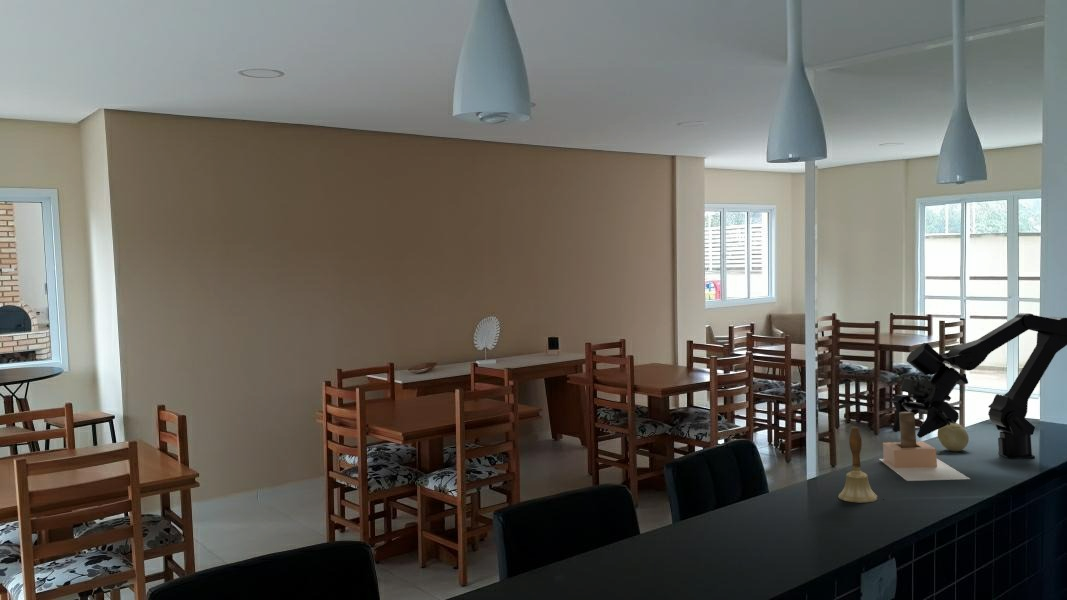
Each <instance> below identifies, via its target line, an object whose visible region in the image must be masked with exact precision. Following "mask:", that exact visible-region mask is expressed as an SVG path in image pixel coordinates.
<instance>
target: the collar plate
mask: <svg viewBox="0 0 1067 600" xmlns="http://www.w3.org/2000/svg"><path fill="white" fill-rule="evenodd" d="M916 446H917V447H915V448H901V441H897V442H896V441H893V442H889V441H888V442H882V450H883V451H882V453H883V458H878V460H879V461H881V462H882V463H883V464H884V465H886V466H887V467H888V468H890V469H891V470H892V471H893V472H895V473H896V474H898V475H899V476H900V477H902V478H903V480H905V481H906V482H917V481H918V482H919V481H921V482H922V481H947V480H949V481H952V480H971V478H970V477H968V476H966V475H965V474H964V473H961V472H960V471H958V470H956V469H955V468H954V467H952V466H950V465H949V464H947V463H945V462H943V461H942V460H940V459H939V458H938V457H937V449H936V448H935V447H934V446H932V445H930V444H928V443H927V442H925V441H923V440H922V441H921V440H920V441H917V440H916Z"/></svg>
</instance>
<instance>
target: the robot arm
mask: <svg viewBox="0 0 1067 600" xmlns="http://www.w3.org/2000/svg"><path fill="white" fill-rule="evenodd" d="M1028 330H1030V331H1033V332H1037V333H1036V345H1035V347H1034V349H1033V350H1032V352H1031V353H1030V355H1029V357H1028V358H1027V360H1026V362H1025V364H1024V365H1023V367H1022V368H1021V370H1020V372H1019V374H1018V375H1017V377H1016V379H1015V380H1014V382H1013V384H1012V385H1011V387H1010V389H1009V390H1008V391H1007V392H1006V393H1005V394H1003V395H1002V394H998V393H997V394H995V396H994V398H993V400H992V402H991V404H989V405H988V406H987V407H988V408H989V410H988V414H987V415H988V417H989V420H990V422H991V423H993V424H994V425H995V427H996V430H998V431H999V437H997V442H998V443H997V444H998V452H997V453H998V455H1000V456H1002V457H1005V459H1006V458H1007V459H1032V458H1033V459H1036V455H1034V454H1033V451H1032V449H1033V448H1032V436H1033V435H1034V432H1035V429H1036V426H1034V425H1033V424H1032V422H1030V421H1028V420H1027V419H1026V416H1027V414H1028V403H1029V399H1030V397H1031V396H1032V394H1033V392H1034V391H1035V389H1036V388H1037V386H1038V384H1039V382H1040V381H1041V379H1042V377H1043V376H1044V375H1045V373H1046V371H1047V370H1048V368H1049V366H1050V364H1051V363H1052V361H1053V359H1054V357H1055V356H1056V354H1057V353H1059V352H1060V351H1061V350H1063V348H1065V347H1066V346H1067V317H1061V316H1059V317H1057V316H1049V317H1045V316H1041V315H1035V314H1033V313H1026V312H1025V313H1023V312H1022V313H1021V312H1020V313H1017V314H1016V315H1015V316H1014V317H1013V318H1011V319H1010V320H1007V321H1006V322H1004V323H1002V324H1001V325H999V326H997V327H996V328H995V329H993V330H991V331H989V332H987V333H986V334H984V335H983V336H981V337H980V338H978V339H975V340H972V341H970V342H969V341H968V342H965V343H962V344H960V345H957V346H955V347H952V348H951V349H949V351H948V352H944V353H939V352H937V350H935V349H934V348H933V347H932V346H931V345H930V344H929V343H928V342H927V343H925V342H924V343H922V344H921V345H920V346H918V347H916V348H915V349H914V350H912V351H911V352H910V353H909V354H908V356H907V357H906V363H908V364H909V365H910V366H912V367H913V368H914V369H916V370H917V371H918V372H919V373H920V374H922V375H923V376H928V375H930V376H931V377H930V379H925V378H922V379H920V380H915V379H909V378H903V381H902V383H901V387H900V391H901V392H906V393H908V394H910V395H911V396H908V395H903V394H895V395H894V396H893V397H892V399H891V403H892V405H893V406H894V407H895V411H896V412H895V413H896V414H895V418H894V422H893V426H892V431H893V432H894V433H898V432H900V421H899V412H914V414H915V416H916V415H917V414H918V413H919V412H924V413H925V412H926V413H927V416H926V418H925V420H924V422H923V423H922V425H921V426H920V428H919V430H918V432H917V433H916V437H918V438H921V439H922V438H923V437H925V436H928V435H929V434H931V433H933V432H935V431H938V430H939V429H940V428H942V427H944V426H947V425H950V423H953V424H955V423H957V422H958V420H959V419H960V417H959V416H960V415H959V412H958V411H957V410H956V409H955V408H954V407H953V406H952V405H951V404H950V403H949V402H950V400H951V399H952V397H951V396H950V394H951V392H952V391H953V390H954V389H955V387H956V386H957V385H968V384H969V381H968V378H967V374H966V373H961V372H959V371H958V370H963V371H967V372H968V371H972V370H974V369H975V370H976V368H977V367H978V366H980V365H981V364H983V362H985V360H986V358H987V357H988V356H989V354H991V353H992V352H994V351H996V350H997V349H999V348H1000V347H1002V346H1003V345H1005V344H1007V343H1009V342H1010V341H1012V340H1013V339H1015V338H1017V337H1019V336H1020V335H1022V334H1024V333H1025V332H1027V331H1028ZM947 365H950V366H951V367H949V366H947ZM957 369H958V370H957ZM914 400H915V401H914Z"/></svg>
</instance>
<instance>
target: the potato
mask: <svg viewBox="0 0 1067 600" xmlns="http://www.w3.org/2000/svg"><path fill="white" fill-rule="evenodd" d="M969 438H970V437H969V434H968V431H967V430H966V429H965V428H964V426H963V425H961V424H960V423H957V422H956V423H955V424H953V423H950V425H947V426H944V427H942V428H940V429H937V439H938V441H939V442H940V444H941V445H942V446H943V447H944V448H945V449H947V450H948V451H950V452H951V451H952V452H960V451H962V450H964V449H965V448H966V447H968V443H969Z"/></svg>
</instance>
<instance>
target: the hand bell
mask: <svg viewBox="0 0 1067 600" xmlns="http://www.w3.org/2000/svg"><path fill="white" fill-rule="evenodd" d="M848 437H849V438H848V439H849V440H848V441H849V442H848V443H849V449H850V452H851V455H852V456H851V457H852V466H851V467H852V470H850V471H849V472H847V473H846V476H845V484H844V487H843V489H842V491H841V492H839V494H838V499H839V500H842V501H845V502H850V503H859V504H860V503H861V504H863V503H872V502H873V503H874V502H876V501H878V500H879V497H878V495H877V494H876V493H875V492H874V491H873V490H872V487H871V485H870V481H869V478H868V476H869V475H868V474H867V473H865V472H863V471H862V470H861V466H862V465H861V451H862V445H863V444H862V443H863V441H862V440H863V439H862V435H861V433H860V431H859V427H857V426H852V427H851V430H850V433H849V436H848Z"/></svg>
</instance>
